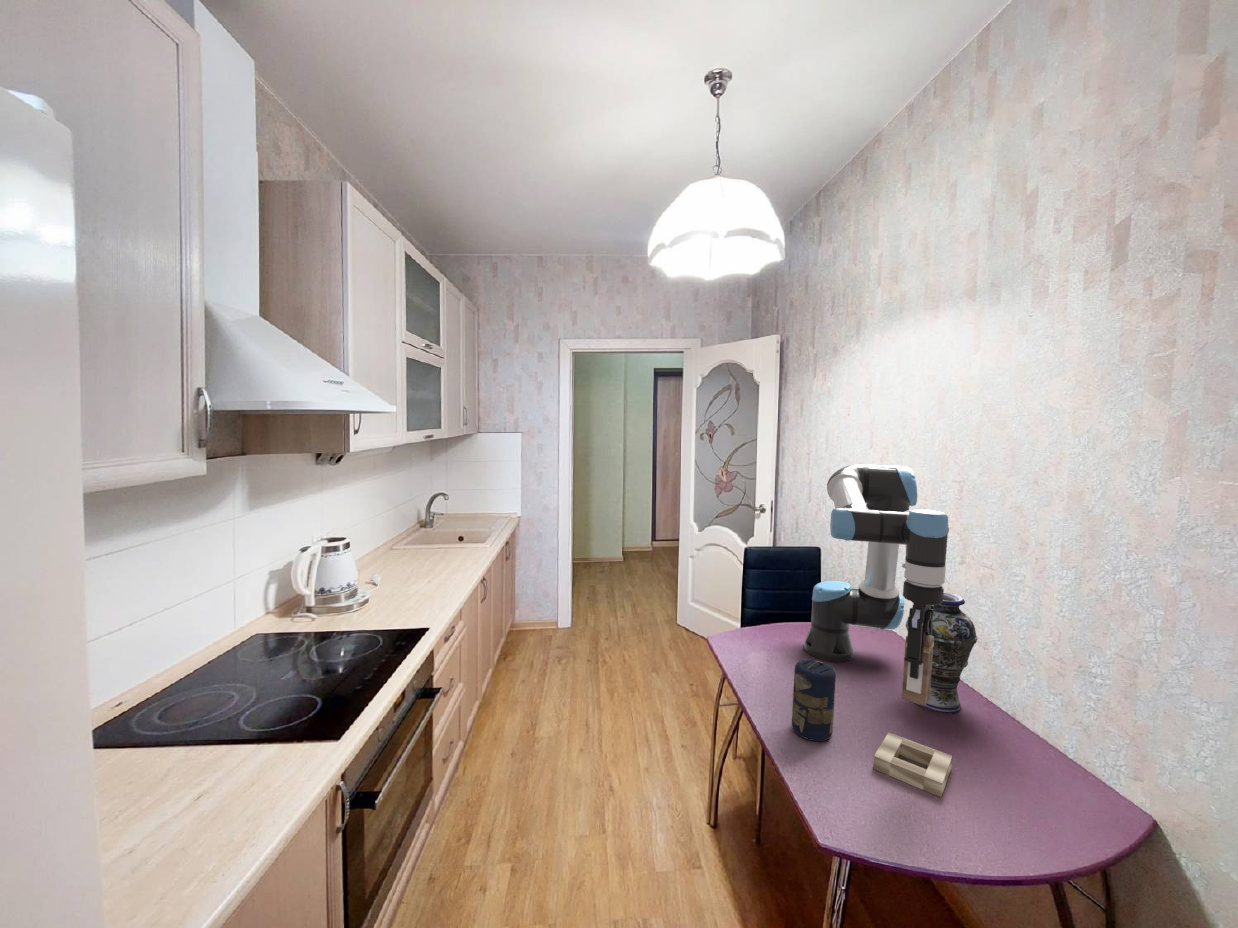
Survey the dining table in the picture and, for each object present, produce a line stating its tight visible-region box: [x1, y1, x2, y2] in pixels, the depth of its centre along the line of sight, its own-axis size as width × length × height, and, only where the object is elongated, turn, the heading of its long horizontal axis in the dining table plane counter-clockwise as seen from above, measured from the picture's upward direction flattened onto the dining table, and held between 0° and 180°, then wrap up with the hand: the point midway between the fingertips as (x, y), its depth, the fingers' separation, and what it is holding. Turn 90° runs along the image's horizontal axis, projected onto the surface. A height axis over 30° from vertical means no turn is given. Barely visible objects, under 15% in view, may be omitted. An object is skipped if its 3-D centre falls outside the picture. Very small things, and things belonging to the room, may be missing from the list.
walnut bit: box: [901, 634, 934, 706], centre depth 114 cm, size 5×5×14 cm
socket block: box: [872, 732, 953, 798], centre depth 116 cm, size 12×13×3 cm
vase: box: [905, 591, 978, 714], centre depth 143 cm, size 17×17×30 cm
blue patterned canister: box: [791, 658, 837, 742], centre depth 128 cm, size 10×10×18 cm
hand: (916, 686), depth 115 cm, fingers closed on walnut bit, 4 cm apart
